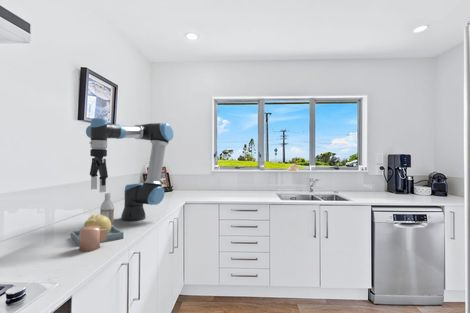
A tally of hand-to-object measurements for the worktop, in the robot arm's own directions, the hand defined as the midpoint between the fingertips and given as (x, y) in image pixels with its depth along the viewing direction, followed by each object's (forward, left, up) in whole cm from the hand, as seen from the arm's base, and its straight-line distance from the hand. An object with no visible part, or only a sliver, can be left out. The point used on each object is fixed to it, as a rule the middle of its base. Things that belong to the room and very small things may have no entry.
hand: (98, 190), depth 139 cm
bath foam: (-8, -12, -24) cm, 28 cm away
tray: (+1, +3, -23) cm, 24 cm away
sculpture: (0, +3, -23) cm, 23 cm away
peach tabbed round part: (+6, +17, -23) cm, 29 cm away
